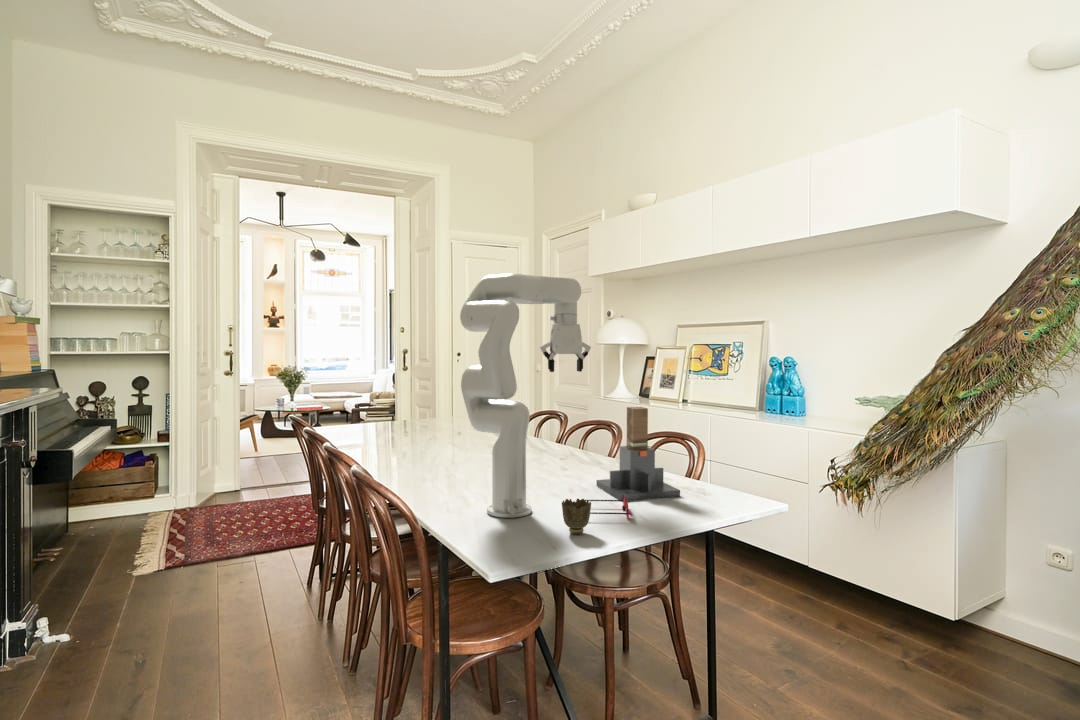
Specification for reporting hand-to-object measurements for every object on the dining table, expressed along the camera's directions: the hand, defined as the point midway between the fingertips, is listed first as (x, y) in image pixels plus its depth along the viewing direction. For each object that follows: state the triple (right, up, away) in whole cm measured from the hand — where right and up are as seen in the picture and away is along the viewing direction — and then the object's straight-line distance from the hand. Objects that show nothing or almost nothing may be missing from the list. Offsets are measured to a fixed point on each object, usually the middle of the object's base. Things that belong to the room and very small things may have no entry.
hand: (565, 371), depth 200 cm
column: (+23, -30, -6) cm, 39 cm away
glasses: (+8, -40, -31) cm, 51 cm away
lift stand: (+23, -39, -6) cm, 45 cm away
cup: (+1, -40, -49) cm, 63 cm away
